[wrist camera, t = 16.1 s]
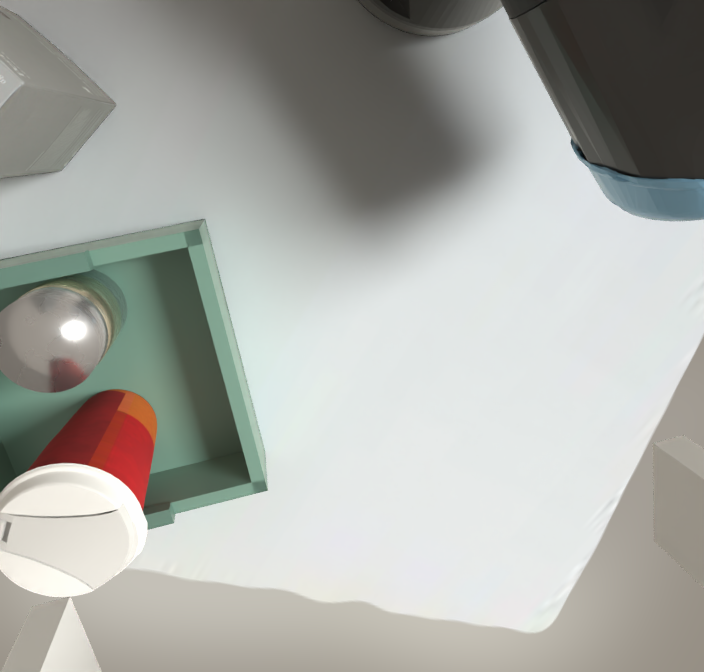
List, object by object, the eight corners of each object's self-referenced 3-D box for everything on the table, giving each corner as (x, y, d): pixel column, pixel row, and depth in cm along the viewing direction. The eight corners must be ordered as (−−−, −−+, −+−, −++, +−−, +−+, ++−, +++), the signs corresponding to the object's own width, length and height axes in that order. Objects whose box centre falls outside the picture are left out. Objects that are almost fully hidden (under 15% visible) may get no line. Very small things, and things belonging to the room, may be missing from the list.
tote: (-79, 273, 41) (-140, 296, 35) (204, 217, 43) (197, 229, 37) (23, 512, 48) (-12, 570, 41) (265, 453, 50) (268, 498, 43)
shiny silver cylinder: (27, 276, 42) (-29, 308, 33) (113, 259, 42) (81, 285, 34) (56, 355, 44) (10, 403, 35) (138, 337, 44) (113, 380, 36)
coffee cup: (51, 456, 46) (-36, 591, 32) (75, 362, 44) (-5, 461, 30) (158, 480, 48) (122, 616, 34) (186, 391, 46) (160, 495, 32)
